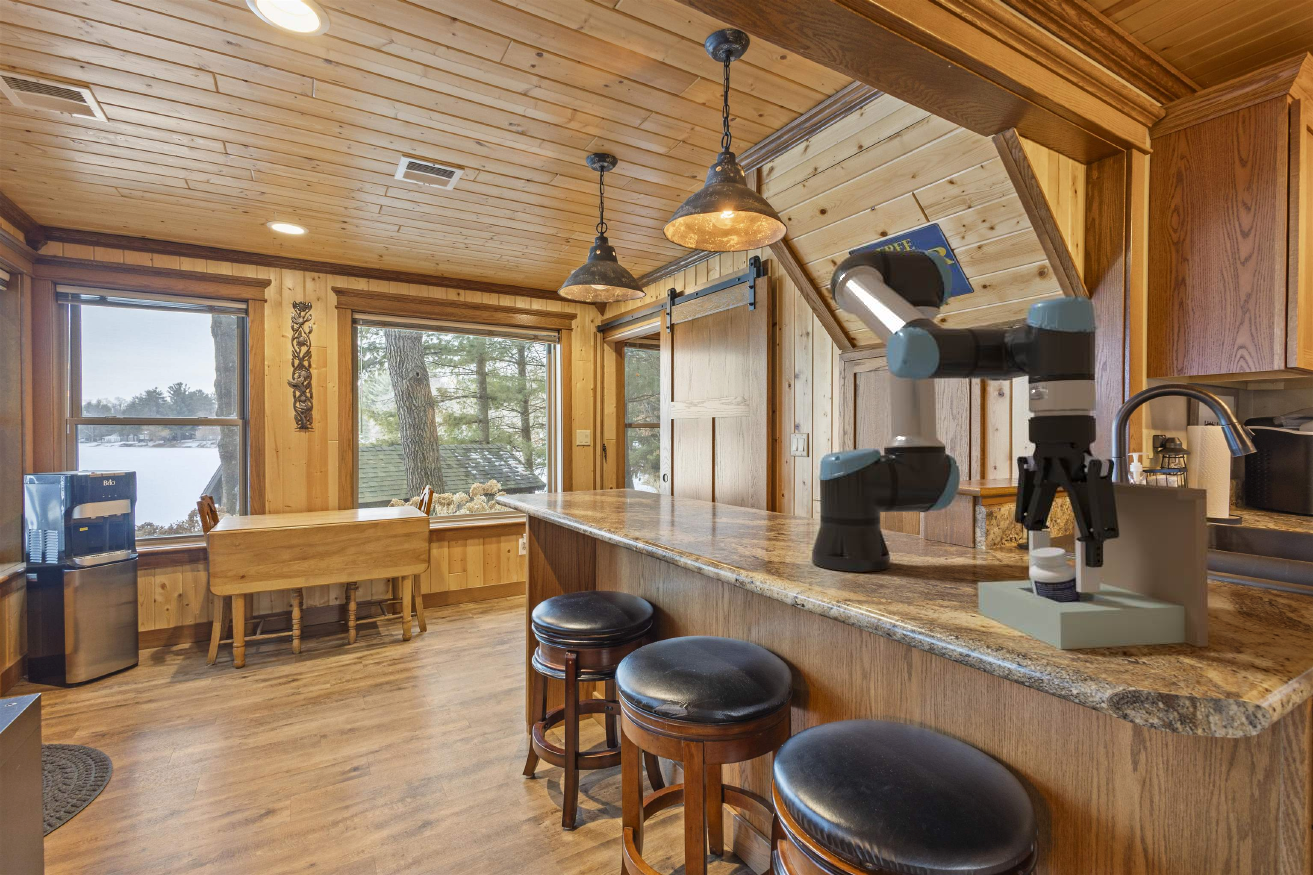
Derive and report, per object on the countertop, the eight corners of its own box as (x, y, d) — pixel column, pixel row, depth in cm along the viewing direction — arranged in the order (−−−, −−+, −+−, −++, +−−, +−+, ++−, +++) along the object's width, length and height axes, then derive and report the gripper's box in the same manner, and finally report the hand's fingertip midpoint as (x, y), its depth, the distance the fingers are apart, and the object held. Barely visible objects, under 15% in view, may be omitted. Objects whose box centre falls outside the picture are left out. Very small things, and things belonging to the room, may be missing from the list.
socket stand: (971, 610, 88) (970, 481, 88) (1084, 604, 90) (1082, 479, 90) (1070, 654, 70) (1069, 492, 70) (1208, 646, 72) (1206, 489, 72)
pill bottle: (1096, 625, 76) (1081, 552, 76) (1053, 632, 77) (1038, 560, 77) (1071, 610, 82) (1056, 542, 81) (1031, 617, 82) (1016, 550, 82)
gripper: (985, 417, 89) (986, 568, 89) (1101, 411, 69) (1103, 605, 69) (1030, 417, 90) (1031, 566, 90) (1158, 410, 70) (1160, 603, 70)
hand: (1062, 583), depth 79 cm, fingers open, 7 cm apart
